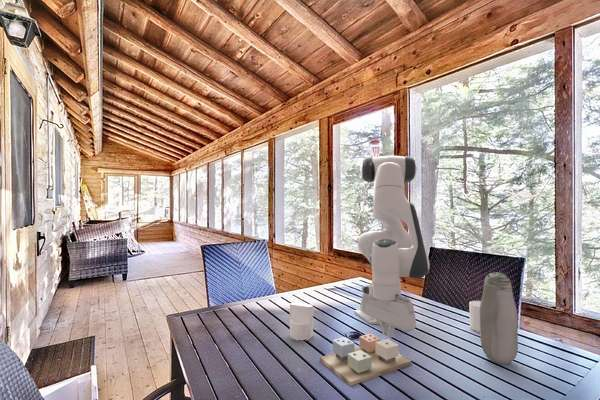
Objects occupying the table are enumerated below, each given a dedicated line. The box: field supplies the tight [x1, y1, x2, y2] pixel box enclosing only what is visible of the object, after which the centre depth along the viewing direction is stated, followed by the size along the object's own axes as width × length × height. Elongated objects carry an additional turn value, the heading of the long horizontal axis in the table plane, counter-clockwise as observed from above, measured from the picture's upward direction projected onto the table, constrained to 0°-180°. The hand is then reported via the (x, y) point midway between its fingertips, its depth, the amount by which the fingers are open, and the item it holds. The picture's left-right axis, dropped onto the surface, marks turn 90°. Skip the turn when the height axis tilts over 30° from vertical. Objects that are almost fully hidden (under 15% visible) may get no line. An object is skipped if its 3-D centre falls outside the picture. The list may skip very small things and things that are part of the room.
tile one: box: [375, 338, 400, 360], centre depth 98 cm, size 5×5×4 cm
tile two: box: [348, 350, 372, 373], centre depth 93 cm, size 5×5×4 cm
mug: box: [468, 300, 481, 334], centre depth 122 cm, size 12×8×10 cm
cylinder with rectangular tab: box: [289, 301, 314, 341], centre depth 120 cm, size 9×9×12 cm
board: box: [319, 345, 413, 387], centre depth 99 cm, size 16×24×4 cm, turn 118°
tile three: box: [332, 336, 356, 357], centre depth 100 cm, size 5×5×4 cm
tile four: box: [358, 333, 382, 353], centre depth 105 cm, size 5×5×4 cm
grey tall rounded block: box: [480, 271, 519, 365], centre depth 99 cm, size 10×10×28 cm
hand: (387, 335), depth 97 cm, fingers closed
